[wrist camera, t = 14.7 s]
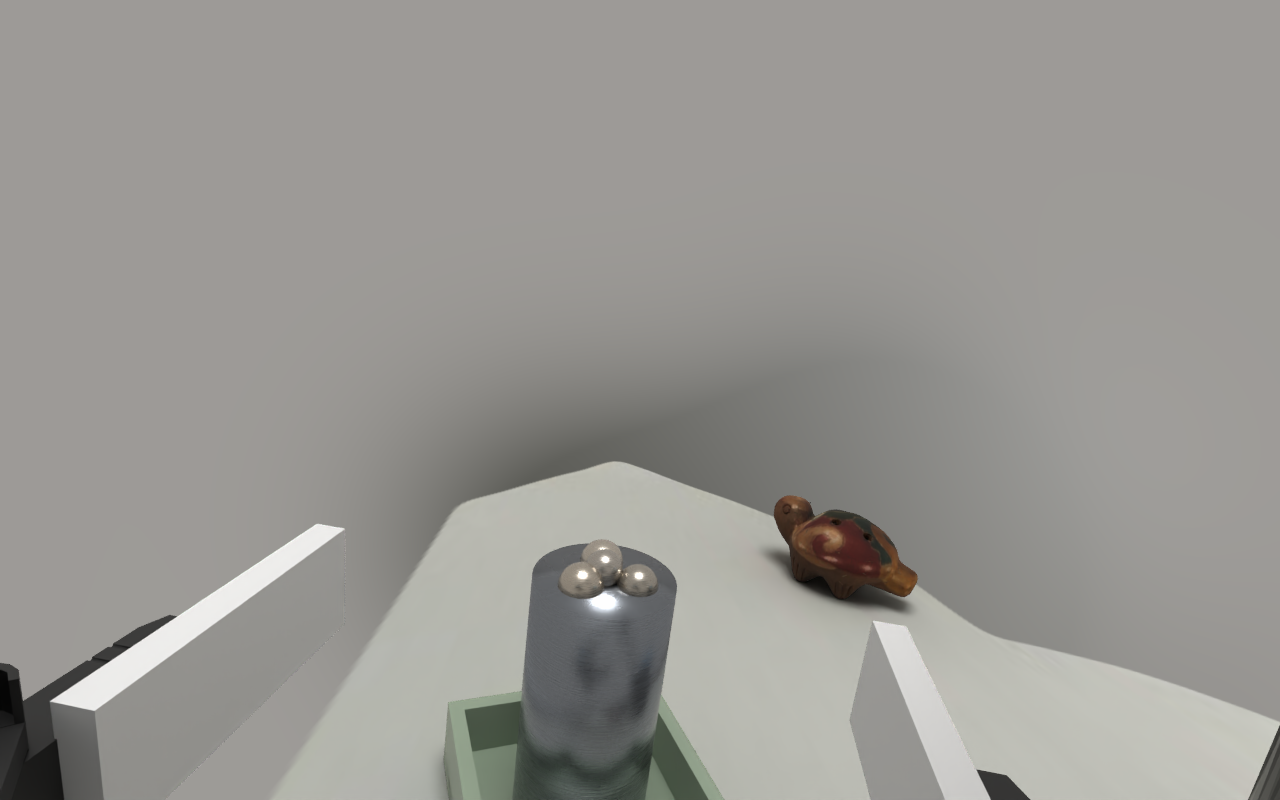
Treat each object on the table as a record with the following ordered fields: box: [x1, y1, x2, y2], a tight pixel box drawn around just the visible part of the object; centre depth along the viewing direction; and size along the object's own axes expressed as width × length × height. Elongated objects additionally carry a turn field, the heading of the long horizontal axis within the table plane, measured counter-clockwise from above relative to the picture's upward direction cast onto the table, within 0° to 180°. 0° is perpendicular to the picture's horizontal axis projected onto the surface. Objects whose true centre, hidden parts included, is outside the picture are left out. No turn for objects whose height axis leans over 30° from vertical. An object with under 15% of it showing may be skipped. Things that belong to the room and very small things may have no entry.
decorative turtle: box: [774, 496, 917, 599], centre depth 65 cm, size 10×15×8 cm, turn 62°
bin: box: [444, 691, 724, 800], centre depth 34 cm, size 13×13×4 cm
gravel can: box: [512, 539, 677, 800], centre depth 32 cm, size 7×7×16 cm
